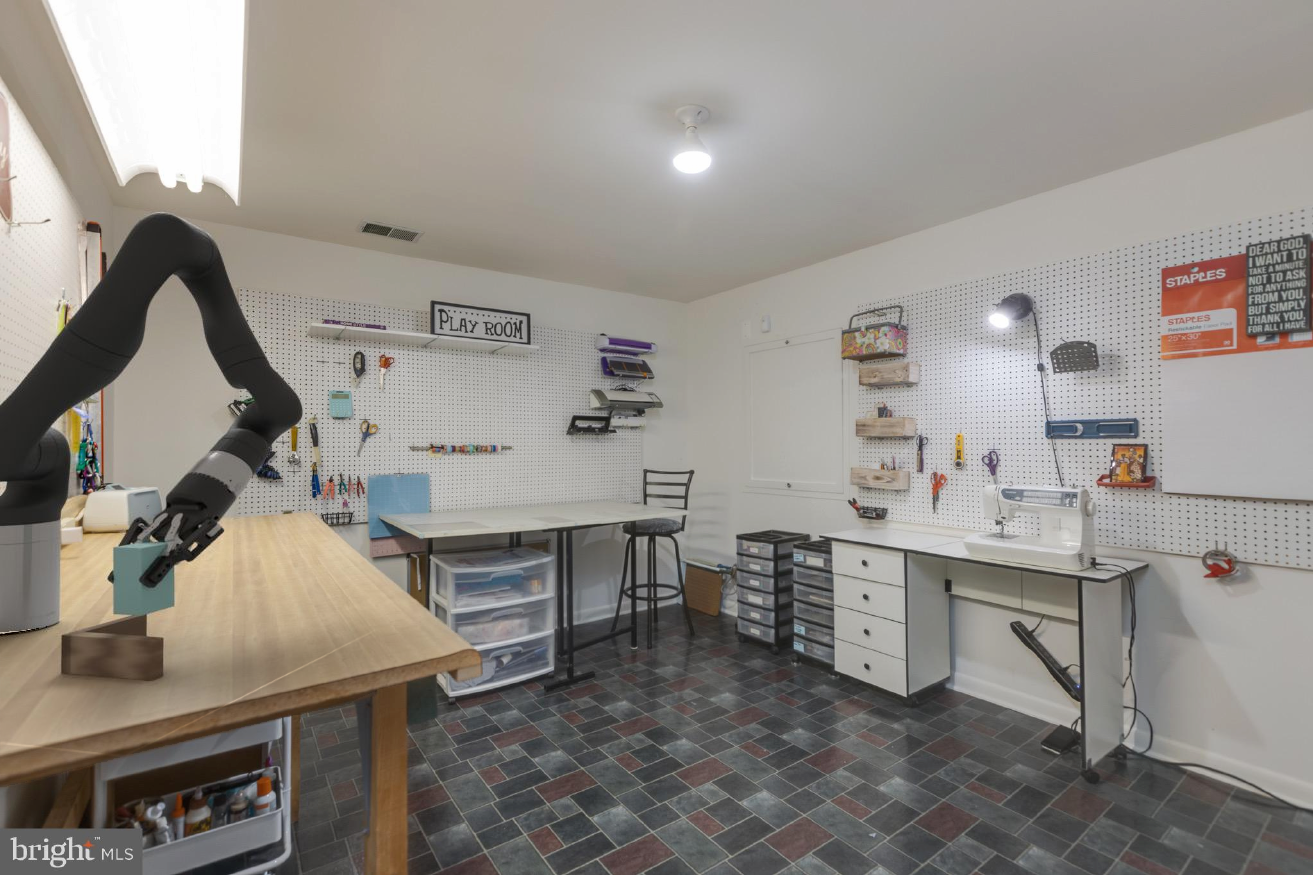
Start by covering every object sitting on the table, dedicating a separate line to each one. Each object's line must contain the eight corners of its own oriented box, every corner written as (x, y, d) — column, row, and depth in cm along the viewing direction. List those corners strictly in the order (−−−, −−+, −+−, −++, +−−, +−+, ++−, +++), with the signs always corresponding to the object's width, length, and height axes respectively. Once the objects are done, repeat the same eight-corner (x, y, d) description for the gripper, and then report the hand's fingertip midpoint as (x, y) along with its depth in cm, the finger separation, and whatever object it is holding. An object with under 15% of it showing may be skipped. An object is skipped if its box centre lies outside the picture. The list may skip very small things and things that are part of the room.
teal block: (113, 614, 79) (113, 547, 79) (147, 604, 83) (147, 541, 83) (141, 615, 78) (141, 548, 78) (174, 606, 83) (174, 542, 83)
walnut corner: (61, 672, 77) (61, 634, 77) (137, 647, 87) (138, 613, 87) (151, 680, 75) (151, 641, 75) (220, 653, 85) (220, 618, 85)
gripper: (155, 470, 89) (63, 566, 77) (236, 470, 87) (155, 570, 75) (188, 501, 95) (106, 596, 83) (266, 502, 92) (194, 600, 80)
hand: (130, 583), depth 79 cm, fingers closed on teal block, 4 cm apart
